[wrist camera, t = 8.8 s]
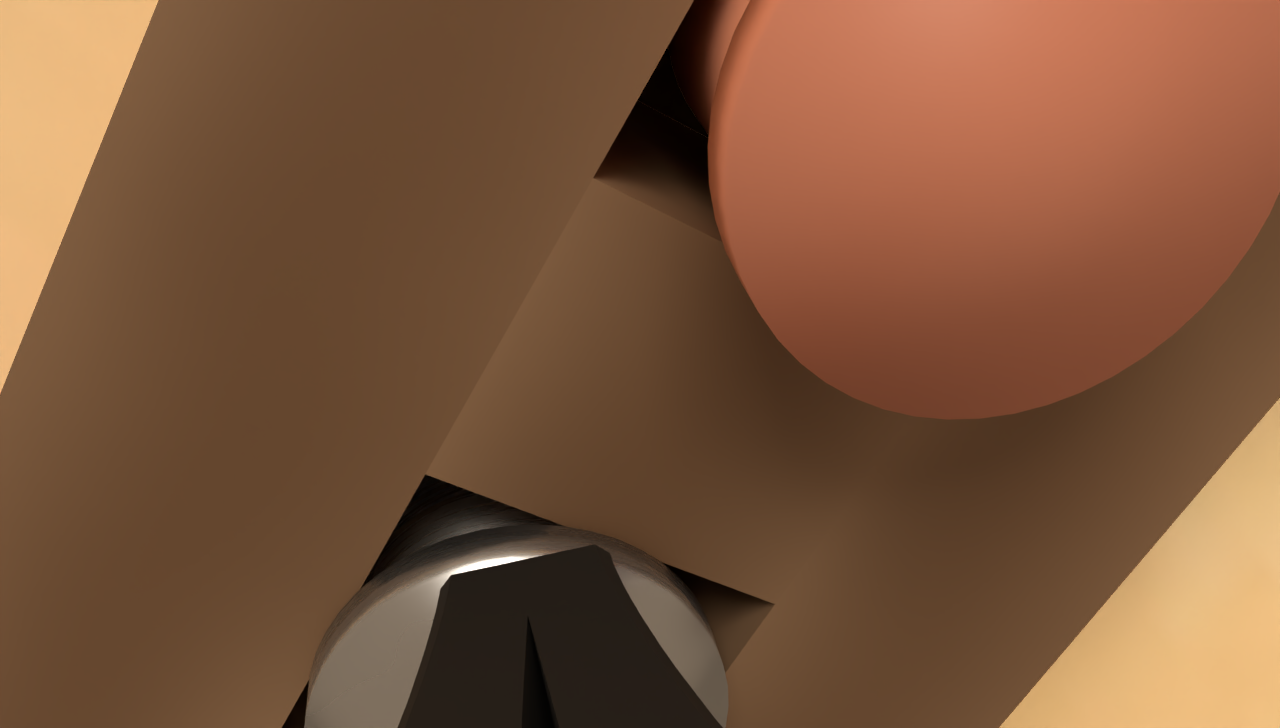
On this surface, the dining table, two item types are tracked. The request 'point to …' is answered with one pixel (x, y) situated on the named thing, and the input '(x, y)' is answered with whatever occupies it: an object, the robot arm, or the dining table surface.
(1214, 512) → the dining table surface
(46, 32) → the dining table surface
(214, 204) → the socket block
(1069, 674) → the dining table surface
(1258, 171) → the terracotta plug
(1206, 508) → the dining table surface
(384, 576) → the grey plug
